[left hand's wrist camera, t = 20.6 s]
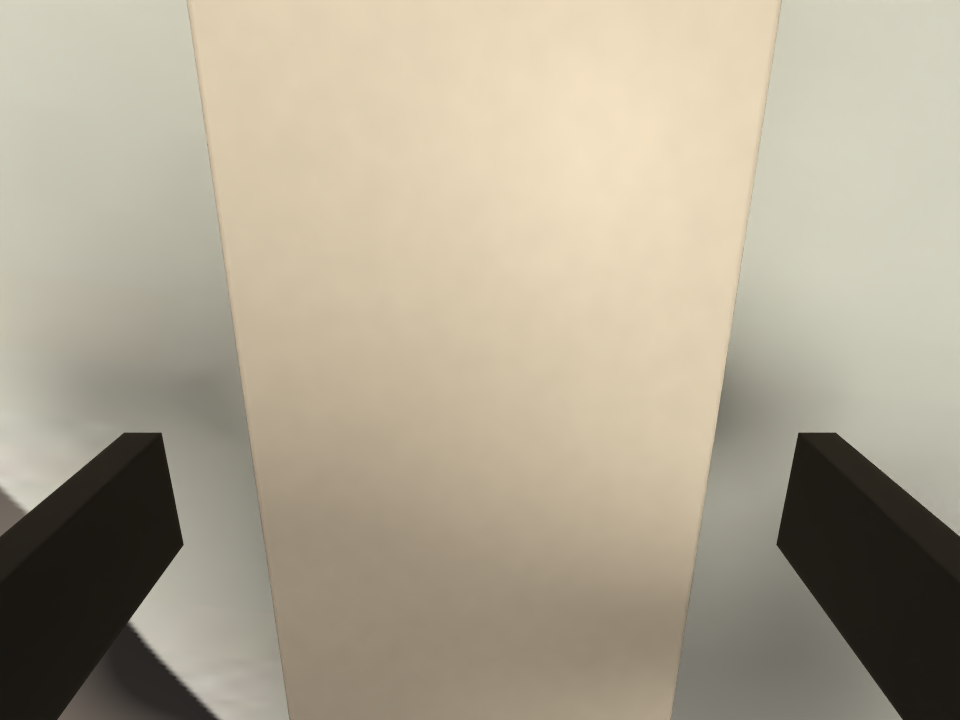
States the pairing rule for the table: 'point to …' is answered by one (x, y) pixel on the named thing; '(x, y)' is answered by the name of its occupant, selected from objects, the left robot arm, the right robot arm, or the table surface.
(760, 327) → the table surface
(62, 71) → the table surface
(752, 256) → the table surface
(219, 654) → the table surface
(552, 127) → the box
